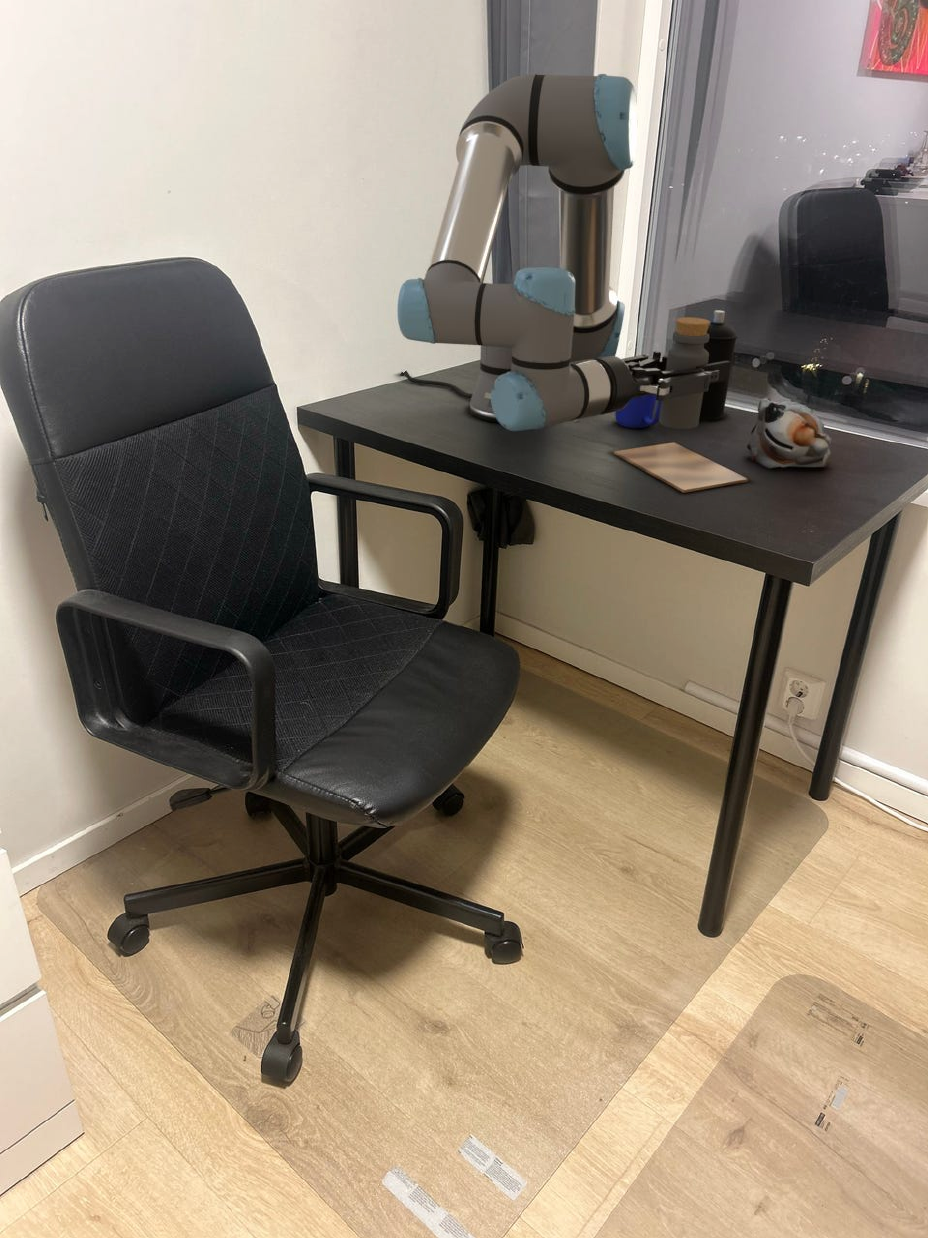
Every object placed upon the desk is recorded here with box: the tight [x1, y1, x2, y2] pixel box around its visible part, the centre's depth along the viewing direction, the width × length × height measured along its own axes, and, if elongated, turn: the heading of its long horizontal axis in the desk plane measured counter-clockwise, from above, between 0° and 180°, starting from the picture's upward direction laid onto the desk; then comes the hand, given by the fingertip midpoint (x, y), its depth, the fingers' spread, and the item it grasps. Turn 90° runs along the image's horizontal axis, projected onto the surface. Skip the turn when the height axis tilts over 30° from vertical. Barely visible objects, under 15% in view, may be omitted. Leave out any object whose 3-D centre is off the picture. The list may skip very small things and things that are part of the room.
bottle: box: [658, 316, 711, 430], centre depth 129 cm, size 6×6×15 cm
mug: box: [615, 395, 661, 429], centre depth 166 cm, size 8×12×10 cm
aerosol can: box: [699, 309, 739, 422], centre depth 172 cm, size 8×8×20 cm
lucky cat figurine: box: [746, 397, 833, 470], centre depth 149 cm, size 15×12×14 cm
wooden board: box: [613, 441, 749, 494], centre depth 150 cm, size 20×13×1 cm, turn 25°
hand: (709, 365), depth 131 cm, fingers closed on bottle, 6 cm apart
